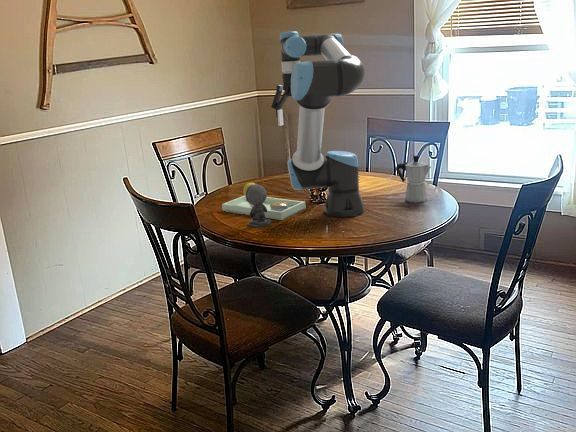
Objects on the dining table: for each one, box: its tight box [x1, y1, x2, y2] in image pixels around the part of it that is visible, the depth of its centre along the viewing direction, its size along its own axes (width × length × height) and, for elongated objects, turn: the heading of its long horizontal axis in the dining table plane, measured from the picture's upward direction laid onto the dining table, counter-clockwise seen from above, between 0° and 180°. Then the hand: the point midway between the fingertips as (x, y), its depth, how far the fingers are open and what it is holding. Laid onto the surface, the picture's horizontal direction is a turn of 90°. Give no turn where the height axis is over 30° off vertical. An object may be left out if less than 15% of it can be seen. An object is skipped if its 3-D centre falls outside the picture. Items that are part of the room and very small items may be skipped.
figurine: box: [246, 183, 273, 229], centre depth 215 cm, size 9×10×15 cm
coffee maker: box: [395, 155, 432, 204], centre depth 232 cm, size 15×9×18 cm, turn 57°
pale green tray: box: [221, 194, 307, 221], centre depth 234 cm, size 30×16×3 cm, turn 54°
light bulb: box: [242, 182, 256, 207], centre depth 235 cm, size 7×7×10 cm
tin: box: [270, 202, 288, 211], centre depth 229 cm, size 7×7×3 cm
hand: (294, 125), depth 237 cm, fingers open, 13 cm apart
